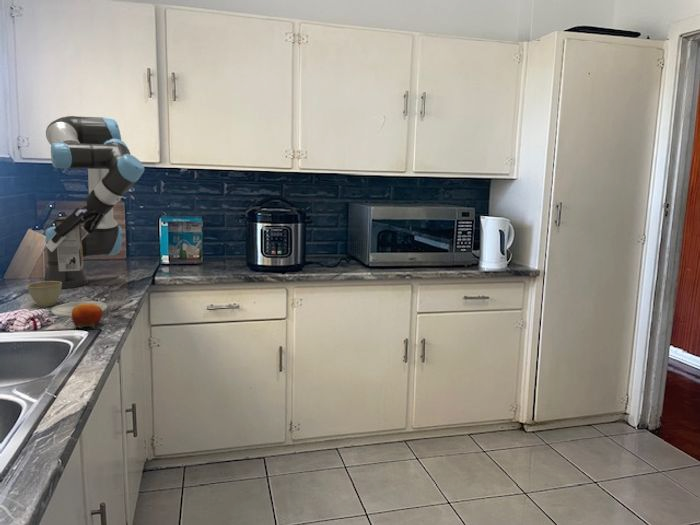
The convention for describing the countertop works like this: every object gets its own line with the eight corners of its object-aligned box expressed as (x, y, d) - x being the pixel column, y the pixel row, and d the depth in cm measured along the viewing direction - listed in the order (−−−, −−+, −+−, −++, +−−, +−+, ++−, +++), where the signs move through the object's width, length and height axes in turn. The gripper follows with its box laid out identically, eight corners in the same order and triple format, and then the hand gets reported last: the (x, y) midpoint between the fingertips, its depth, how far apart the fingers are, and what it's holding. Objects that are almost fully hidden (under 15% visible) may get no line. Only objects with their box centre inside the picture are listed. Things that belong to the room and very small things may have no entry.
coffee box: (61, 266, 175) (58, 216, 172) (83, 265, 177) (80, 216, 175) (57, 271, 167) (53, 219, 164) (81, 270, 169) (77, 218, 166)
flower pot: (55, 299, 188) (54, 279, 187) (68, 304, 182) (67, 283, 181) (24, 305, 180) (22, 283, 179) (36, 310, 174) (34, 288, 173)
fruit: (70, 328, 151) (70, 300, 154) (73, 335, 158) (72, 309, 160) (102, 325, 154) (101, 298, 157) (103, 332, 161) (102, 306, 164)
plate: (72, 303, 184) (71, 299, 184) (116, 305, 182) (116, 301, 182) (40, 315, 169) (39, 310, 168) (88, 317, 167) (87, 313, 166)
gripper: (89, 208, 155) (44, 260, 160) (132, 203, 178) (91, 249, 183) (71, 189, 155) (26, 242, 160) (116, 187, 178) (76, 233, 182)
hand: (61, 245), depth 171 cm, fingers closed on coffee box, 10 cm apart
